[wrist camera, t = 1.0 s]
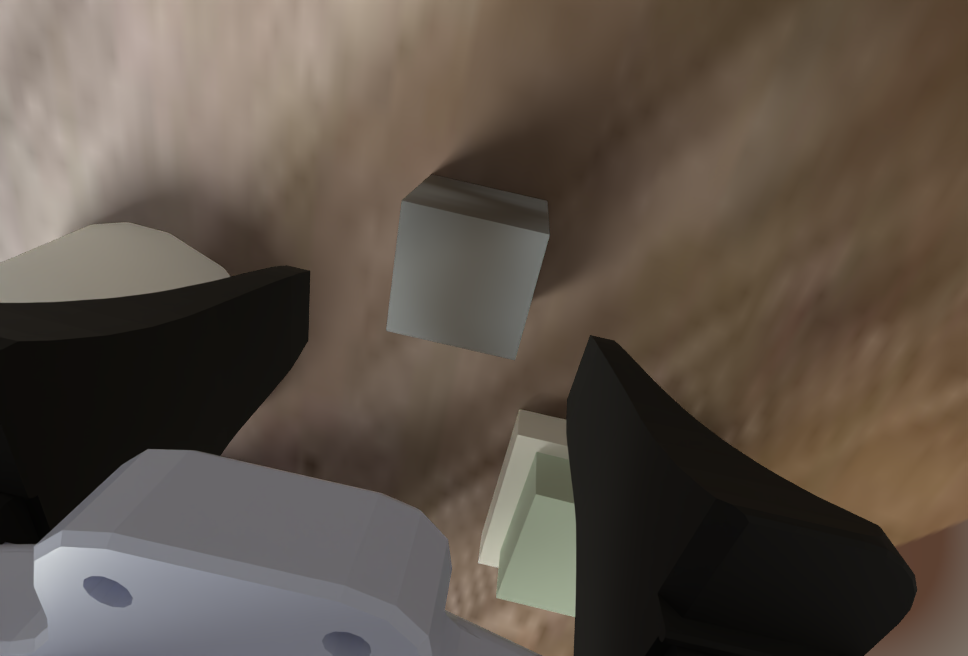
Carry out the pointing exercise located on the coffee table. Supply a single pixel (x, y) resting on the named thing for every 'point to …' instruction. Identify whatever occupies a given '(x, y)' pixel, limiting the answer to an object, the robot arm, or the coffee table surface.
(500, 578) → the tower top slab
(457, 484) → the coffee table surface
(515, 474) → the tower base slab
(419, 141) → the coffee table surface
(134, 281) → the teardrop
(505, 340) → the slate cube
